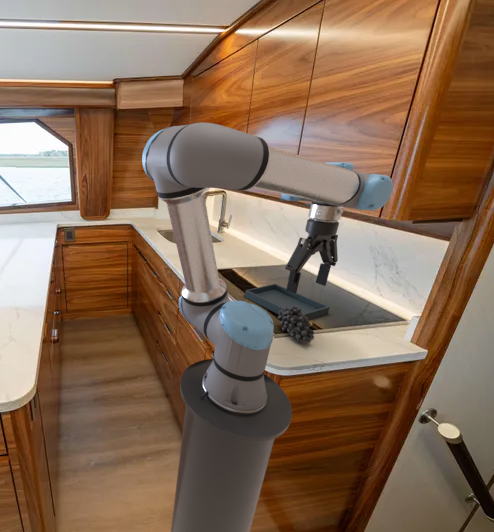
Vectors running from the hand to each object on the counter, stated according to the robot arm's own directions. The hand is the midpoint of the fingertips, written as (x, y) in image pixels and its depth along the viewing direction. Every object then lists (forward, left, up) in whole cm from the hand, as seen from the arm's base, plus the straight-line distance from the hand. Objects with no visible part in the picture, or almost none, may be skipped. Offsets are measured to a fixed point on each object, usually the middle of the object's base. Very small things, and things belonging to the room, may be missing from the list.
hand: (306, 287), depth 92 cm
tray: (+16, +16, -17) cm, 28 cm away
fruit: (0, 0, -17) cm, 17 cm away
